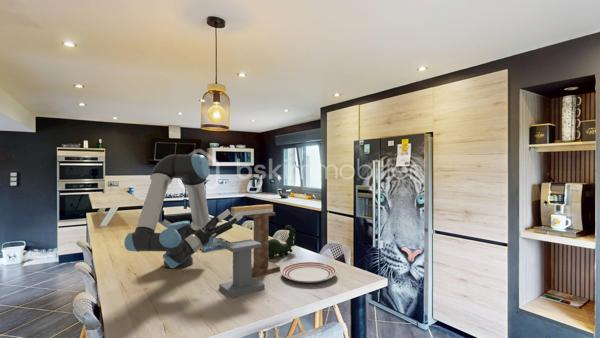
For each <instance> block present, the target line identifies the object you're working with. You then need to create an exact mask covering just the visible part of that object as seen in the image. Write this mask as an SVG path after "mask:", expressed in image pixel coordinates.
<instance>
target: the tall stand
mask: <svg viewBox="0 0 600 338" xmlns="http://www.w3.org/2000/svg"><path fill="white" fill-rule="evenodd" d="M276 213H277V212H274V211H273V213H263V214H253V215H245V216H246V217H247V218H251V219H253V240H254V241H256V242H259V243H262V247H259V248H253V263H251V277H253V278H255V277H258V276H262V275H267V274H271V273H275V272H281V266H280V265H277V264H275V263H273V262H271V261H269V257H268V241H269V236H270V235H269V230H270V229H269V227H270V225H269V223H270V222H269V220H270V219H269V217H271V216H272V217H274V216H276Z"/></svg>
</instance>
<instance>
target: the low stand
mask: <svg viewBox="0 0 600 338" xmlns="http://www.w3.org/2000/svg"><path fill="white" fill-rule="evenodd" d="M259 247H262V243H259V242H256V241H254V239H245V240H239V241H231V242H225V243H222V248H224V249H226V250H227V251H230V252H232V281H227V282H223V283H220V284H219V290H220V291H222V292H223V293H224V294H226V295H227V296H228V297H229V298H231V299H233V298H236V297H239V296H244V295H246V294H251V293H254V292H258V291H261V290H265V287H266V286H265V285H266V284H265V283H263V282H262V281H260V280H258V279H257V278H255V277H252V276H251V265H252V253H253V252H252V249H253V250H254V248H259Z"/></svg>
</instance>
